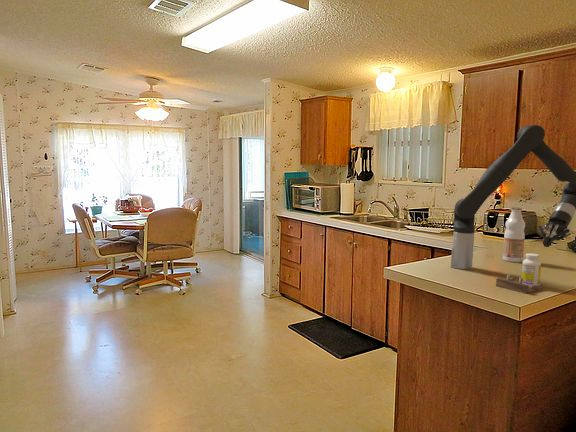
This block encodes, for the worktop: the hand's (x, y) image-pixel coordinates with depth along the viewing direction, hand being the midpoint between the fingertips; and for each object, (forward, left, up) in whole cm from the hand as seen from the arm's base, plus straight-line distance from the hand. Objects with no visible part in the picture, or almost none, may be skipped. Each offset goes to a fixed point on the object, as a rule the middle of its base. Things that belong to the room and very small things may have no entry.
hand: (545, 245), depth 177 cm
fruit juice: (-11, +40, -16) cm, 45 cm away
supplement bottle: (-5, -9, -16) cm, 19 cm away
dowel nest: (-9, -16, -16) cm, 24 cm away
